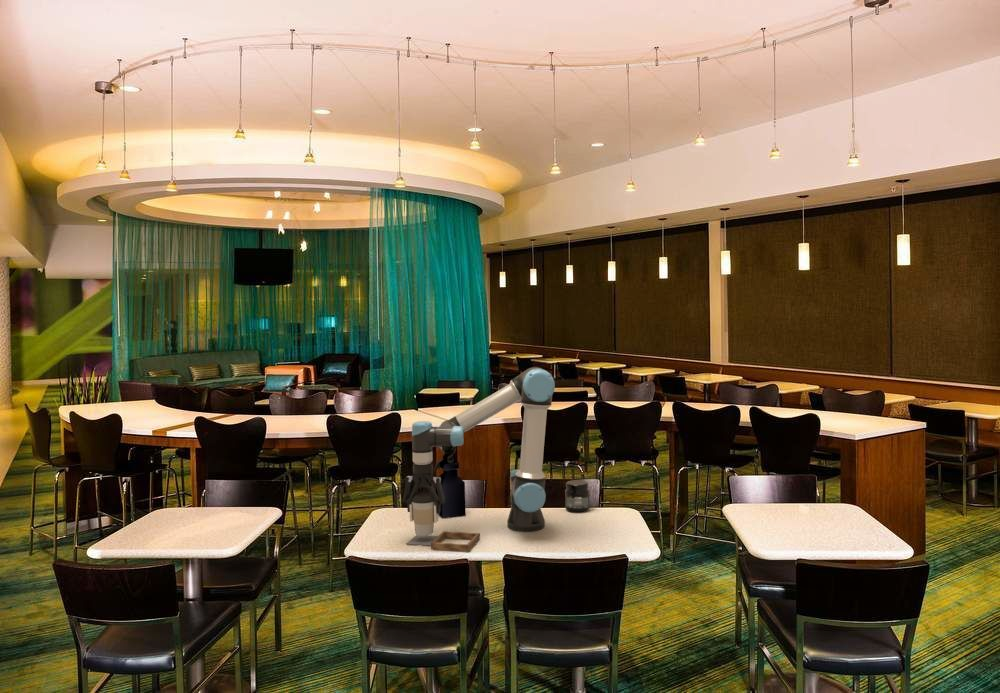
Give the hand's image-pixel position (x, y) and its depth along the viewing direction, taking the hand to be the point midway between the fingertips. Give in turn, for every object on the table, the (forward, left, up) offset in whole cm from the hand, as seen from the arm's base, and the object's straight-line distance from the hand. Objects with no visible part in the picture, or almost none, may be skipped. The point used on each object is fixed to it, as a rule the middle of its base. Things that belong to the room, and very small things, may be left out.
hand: (424, 521), depth 276 cm
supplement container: (-51, -52, -8) cm, 73 cm away
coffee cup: (0, 0, -5) cm, 5 cm away
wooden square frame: (-13, +2, -8) cm, 15 cm away
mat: (0, 0, -8) cm, 8 cm away
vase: (+2, -37, -8) cm, 38 cm away
